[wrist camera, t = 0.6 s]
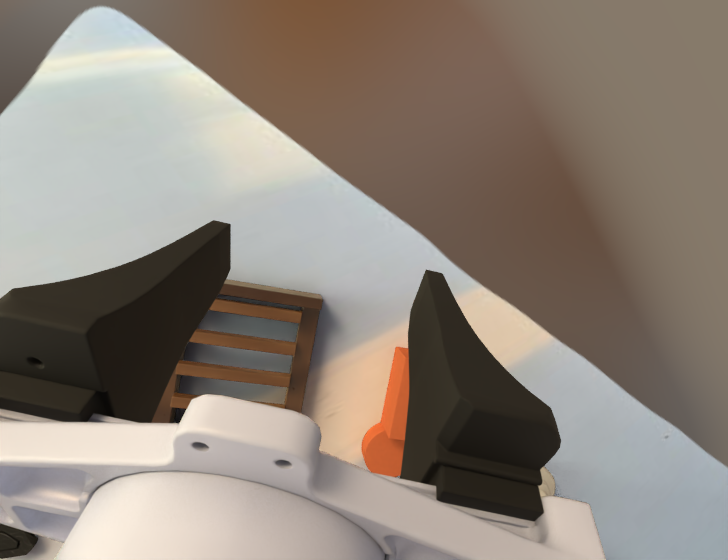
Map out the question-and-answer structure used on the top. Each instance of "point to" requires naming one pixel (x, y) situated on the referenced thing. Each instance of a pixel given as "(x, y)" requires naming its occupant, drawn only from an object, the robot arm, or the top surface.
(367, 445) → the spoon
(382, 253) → the top surface
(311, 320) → the rack
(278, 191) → the top surface
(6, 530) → the hairbrush
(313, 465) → the robot arm
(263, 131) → the top surface
